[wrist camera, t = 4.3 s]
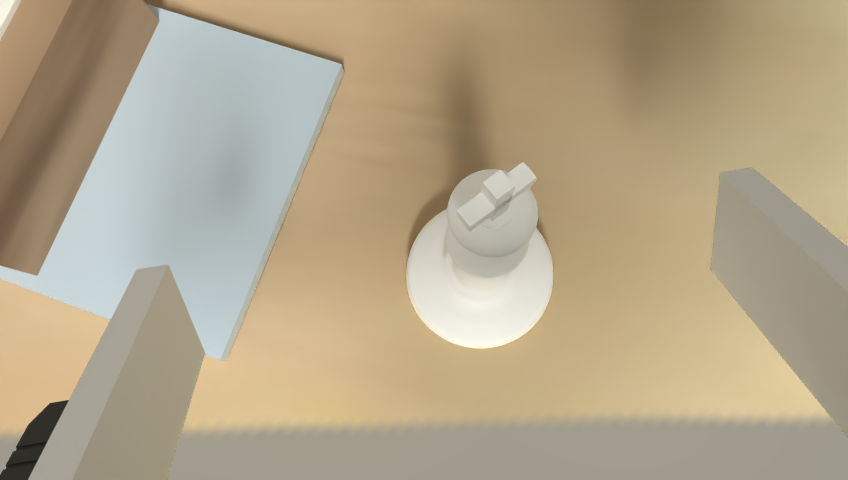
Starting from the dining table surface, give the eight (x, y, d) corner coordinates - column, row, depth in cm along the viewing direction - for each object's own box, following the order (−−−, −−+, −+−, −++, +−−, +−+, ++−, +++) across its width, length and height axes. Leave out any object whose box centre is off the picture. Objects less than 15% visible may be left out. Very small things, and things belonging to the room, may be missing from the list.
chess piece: (377, 260, 23) (320, 161, 13) (492, 176, 23) (520, 20, 13) (465, 379, 22) (475, 368, 12) (583, 288, 22) (685, 208, 12)
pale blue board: (344, 71, 24) (341, 64, 24) (226, 361, 22) (220, 360, 22) (-79, -59, 26) (-91, -69, 26) (-225, 194, 24) (-242, 189, 24)
